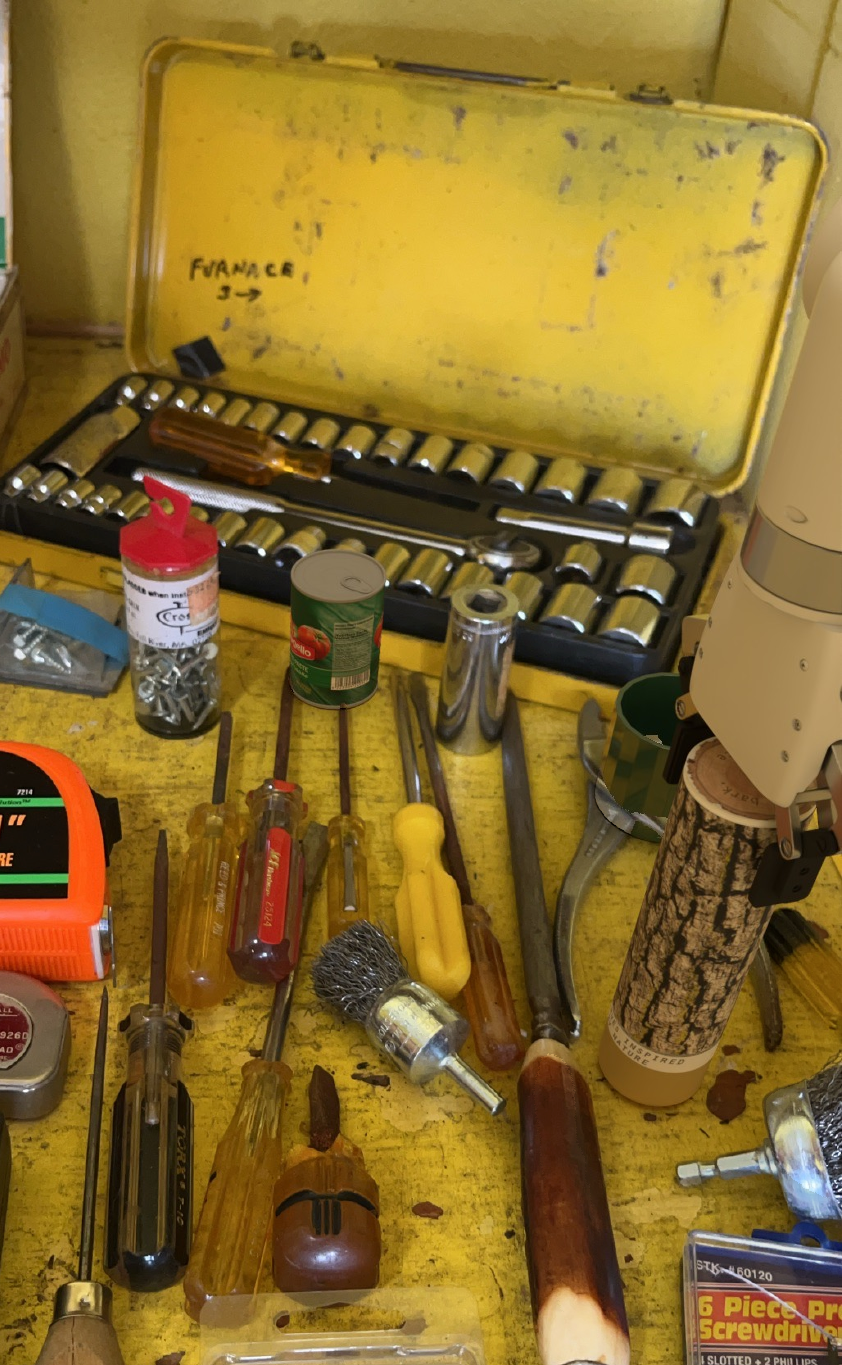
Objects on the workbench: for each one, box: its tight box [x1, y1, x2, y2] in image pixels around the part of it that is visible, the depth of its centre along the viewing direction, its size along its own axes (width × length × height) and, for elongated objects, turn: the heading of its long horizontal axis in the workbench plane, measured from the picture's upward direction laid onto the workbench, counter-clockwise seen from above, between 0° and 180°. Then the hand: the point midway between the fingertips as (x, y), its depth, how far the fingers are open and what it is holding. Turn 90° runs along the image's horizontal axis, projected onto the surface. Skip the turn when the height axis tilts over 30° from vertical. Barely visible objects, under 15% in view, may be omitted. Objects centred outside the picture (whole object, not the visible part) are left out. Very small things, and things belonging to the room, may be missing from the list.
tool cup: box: [600, 672, 683, 844], centre depth 97 cm, size 10×10×9 cm
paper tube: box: [597, 737, 817, 1108], centre depth 73 cm, size 7×7×25 cm
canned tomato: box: [289, 548, 387, 710], centre depth 107 cm, size 8×8×11 cm
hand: (730, 836), depth 67 cm, fingers open, 9 cm apart
